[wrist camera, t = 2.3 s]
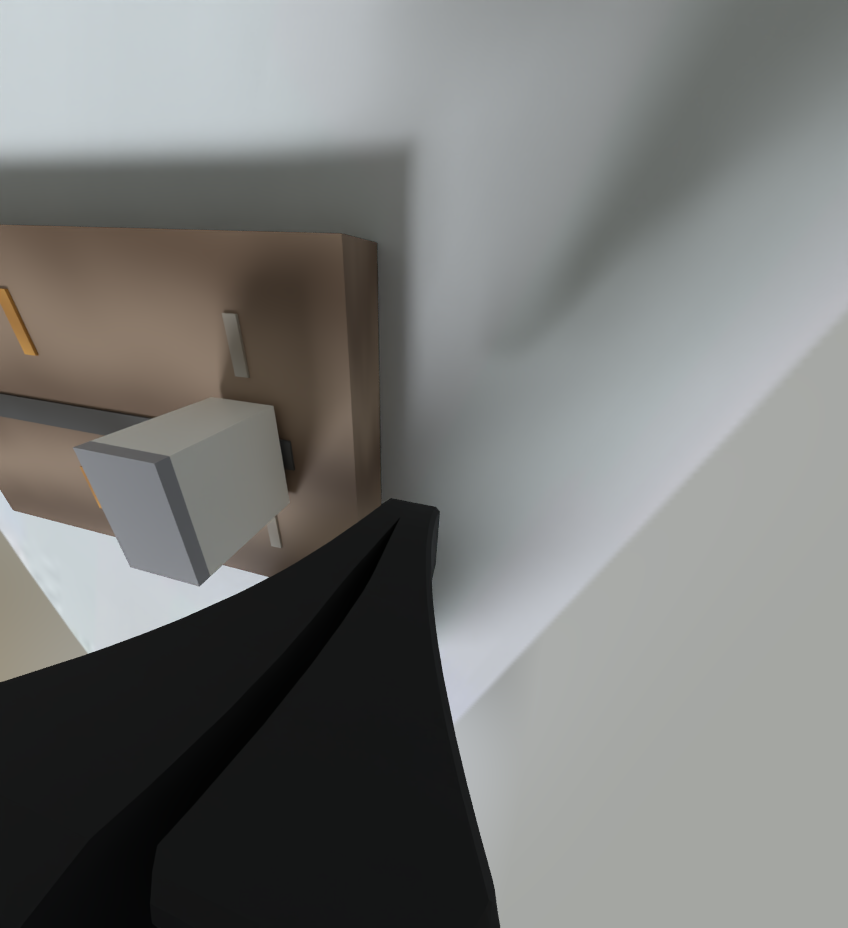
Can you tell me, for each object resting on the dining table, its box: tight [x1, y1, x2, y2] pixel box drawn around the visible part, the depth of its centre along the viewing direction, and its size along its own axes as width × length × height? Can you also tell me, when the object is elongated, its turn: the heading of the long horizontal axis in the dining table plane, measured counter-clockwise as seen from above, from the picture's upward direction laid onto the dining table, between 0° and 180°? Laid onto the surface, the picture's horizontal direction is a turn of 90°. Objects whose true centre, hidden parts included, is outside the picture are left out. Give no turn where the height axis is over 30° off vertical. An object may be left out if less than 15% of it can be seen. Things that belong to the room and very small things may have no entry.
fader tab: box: [73, 397, 290, 586], centre depth 11 cm, size 4×2×4 cm, turn 177°
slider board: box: [0, 225, 381, 577], centre depth 16 cm, size 14×22×3 cm, turn 87°
